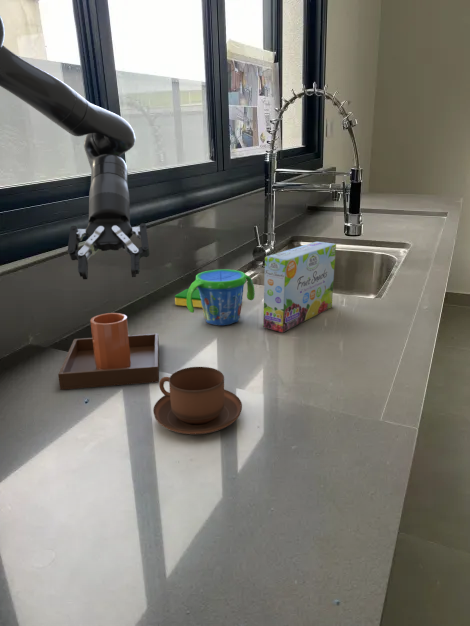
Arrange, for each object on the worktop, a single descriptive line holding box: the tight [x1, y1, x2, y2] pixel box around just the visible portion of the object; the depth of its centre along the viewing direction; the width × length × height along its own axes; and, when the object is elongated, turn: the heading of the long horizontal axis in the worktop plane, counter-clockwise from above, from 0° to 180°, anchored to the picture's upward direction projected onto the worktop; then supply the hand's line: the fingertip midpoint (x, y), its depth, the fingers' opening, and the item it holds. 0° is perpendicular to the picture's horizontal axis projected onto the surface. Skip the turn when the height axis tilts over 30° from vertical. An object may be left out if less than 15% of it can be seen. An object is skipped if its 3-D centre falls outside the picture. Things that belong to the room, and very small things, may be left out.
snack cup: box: [186, 268, 256, 326], centre depth 105 cm, size 16×10×10 cm
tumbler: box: [89, 312, 131, 370], centre depth 83 cm, size 6×6×8 cm
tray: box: [57, 332, 160, 391], centre depth 85 cm, size 15×15×3 cm
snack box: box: [262, 241, 337, 333], centre depth 106 cm, size 21×6×15 cm, turn 143°
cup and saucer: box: [152, 366, 243, 435], centre depth 67 cm, size 12×12×6 cm
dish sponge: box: [174, 287, 203, 309], centre depth 118 cm, size 7×14×2 cm, turn 69°
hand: (109, 276), depth 88 cm, fingers open, 8 cm apart
